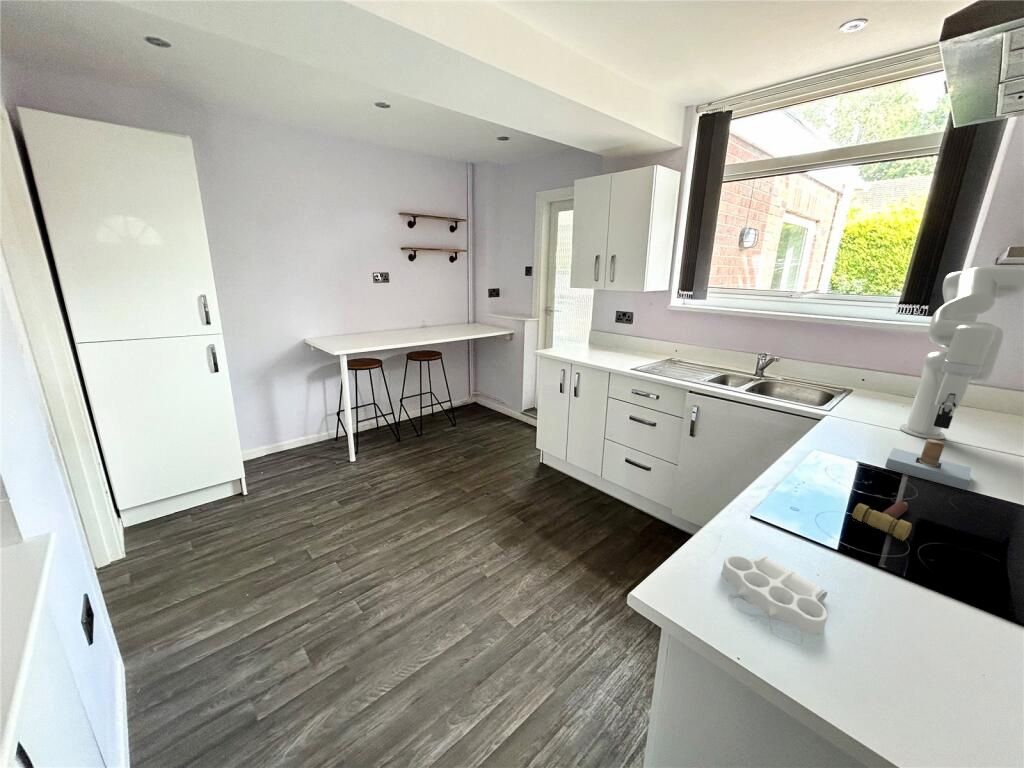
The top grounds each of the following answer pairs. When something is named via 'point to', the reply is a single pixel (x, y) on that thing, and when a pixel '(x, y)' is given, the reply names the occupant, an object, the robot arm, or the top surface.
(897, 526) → the gavel
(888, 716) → the top surface
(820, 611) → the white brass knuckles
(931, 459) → the peg
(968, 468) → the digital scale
